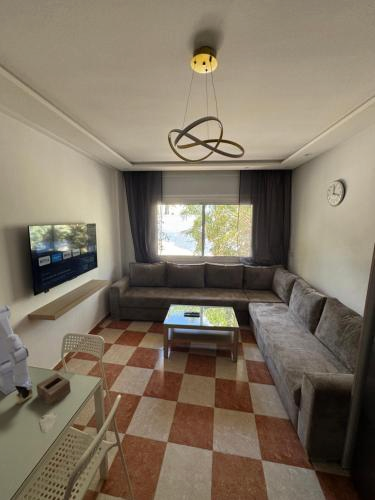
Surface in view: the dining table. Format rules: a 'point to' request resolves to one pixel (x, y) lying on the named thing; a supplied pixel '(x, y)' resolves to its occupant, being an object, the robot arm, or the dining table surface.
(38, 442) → the dining table surface
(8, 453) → the dining table surface
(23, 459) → the dining table surface
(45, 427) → the arrowhead
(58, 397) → the box
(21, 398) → the gold metal block
